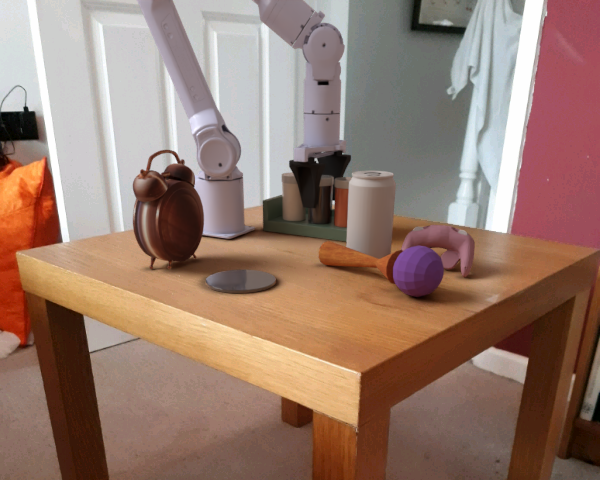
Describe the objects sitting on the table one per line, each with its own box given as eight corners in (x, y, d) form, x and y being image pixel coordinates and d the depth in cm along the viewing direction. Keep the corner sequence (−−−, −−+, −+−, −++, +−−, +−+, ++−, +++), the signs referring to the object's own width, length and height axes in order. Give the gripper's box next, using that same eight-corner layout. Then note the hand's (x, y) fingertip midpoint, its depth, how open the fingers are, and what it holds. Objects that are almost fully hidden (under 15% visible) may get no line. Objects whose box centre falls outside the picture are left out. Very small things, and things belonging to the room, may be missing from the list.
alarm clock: (182, 253, 94) (173, 145, 87) (209, 257, 92) (202, 147, 85) (134, 272, 85) (120, 153, 78) (163, 277, 83) (151, 155, 76)
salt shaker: (277, 219, 107) (276, 174, 104) (289, 215, 110) (289, 171, 107) (298, 222, 105) (299, 176, 102) (310, 217, 108) (311, 173, 105)
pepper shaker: (302, 222, 105) (303, 177, 101) (314, 218, 108) (315, 173, 105) (325, 225, 103) (326, 179, 100) (336, 220, 106) (338, 175, 103)
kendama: (346, 232, 89) (458, 250, 74) (341, 274, 91) (449, 300, 76) (313, 229, 86) (424, 248, 71) (308, 274, 87) (415, 301, 73)
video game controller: (471, 282, 87) (479, 231, 87) (469, 276, 82) (478, 222, 82) (399, 275, 90) (407, 226, 89) (395, 268, 85) (403, 217, 85)
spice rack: (263, 230, 107) (262, 200, 105) (289, 220, 114) (289, 192, 112) (360, 243, 100) (361, 211, 98) (381, 232, 107) (383, 201, 105)
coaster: (191, 286, 80) (191, 283, 80) (231, 268, 87) (231, 266, 87) (251, 297, 76) (251, 294, 76) (288, 278, 83) (288, 275, 83)
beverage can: (389, 255, 94) (395, 169, 88) (390, 267, 88) (397, 176, 82) (346, 253, 94) (349, 168, 89) (345, 265, 89) (348, 175, 83)
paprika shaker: (328, 226, 103) (330, 179, 99) (340, 221, 106) (341, 176, 103) (352, 228, 101) (354, 181, 98) (363, 223, 104) (365, 178, 101)
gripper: (323, 116, 91) (322, 213, 97) (364, 111, 102) (360, 198, 108) (281, 115, 94) (282, 209, 100) (325, 110, 105) (323, 195, 111)
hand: (320, 203), depth 104 cm, fingers open, 7 cm apart
